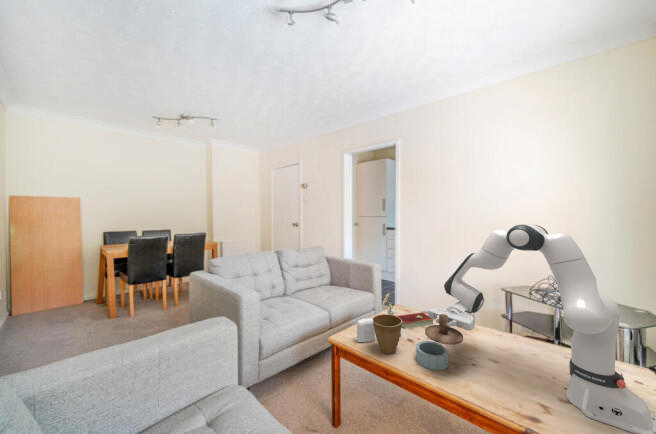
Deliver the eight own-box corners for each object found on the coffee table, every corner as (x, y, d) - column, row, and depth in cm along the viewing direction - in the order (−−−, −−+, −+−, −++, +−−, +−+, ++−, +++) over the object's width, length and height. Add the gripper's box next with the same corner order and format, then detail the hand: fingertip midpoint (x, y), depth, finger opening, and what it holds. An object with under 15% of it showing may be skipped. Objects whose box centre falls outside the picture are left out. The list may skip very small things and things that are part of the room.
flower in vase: (386, 327, 156) (385, 287, 155) (404, 332, 149) (403, 290, 149) (377, 336, 145) (376, 293, 145) (396, 342, 139) (395, 297, 138)
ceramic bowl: (453, 361, 119) (453, 349, 119) (439, 374, 111) (438, 360, 110) (425, 349, 130) (425, 338, 130) (410, 360, 121) (410, 348, 121)
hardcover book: (394, 322, 165) (394, 315, 165) (422, 317, 170) (422, 311, 170) (404, 330, 153) (404, 323, 153) (433, 325, 159) (433, 318, 159)
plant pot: (386, 340, 141) (385, 311, 141) (408, 351, 129) (407, 320, 129) (367, 348, 132) (366, 318, 132) (389, 362, 120) (388, 329, 120)
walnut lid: (466, 334, 117) (466, 314, 116) (458, 348, 105) (458, 327, 104) (431, 324, 127) (431, 306, 127) (419, 336, 115) (419, 317, 115)
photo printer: (373, 337, 144) (372, 316, 144) (376, 341, 140) (375, 319, 140) (356, 340, 142) (355, 318, 142) (358, 343, 138) (358, 321, 137)
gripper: (435, 302, 132) (421, 309, 123) (478, 314, 116) (465, 323, 107) (435, 314, 132) (421, 322, 123) (478, 328, 116) (465, 338, 107)
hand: (442, 323), depth 115 cm, fingers closed on walnut lid, 4 cm apart
